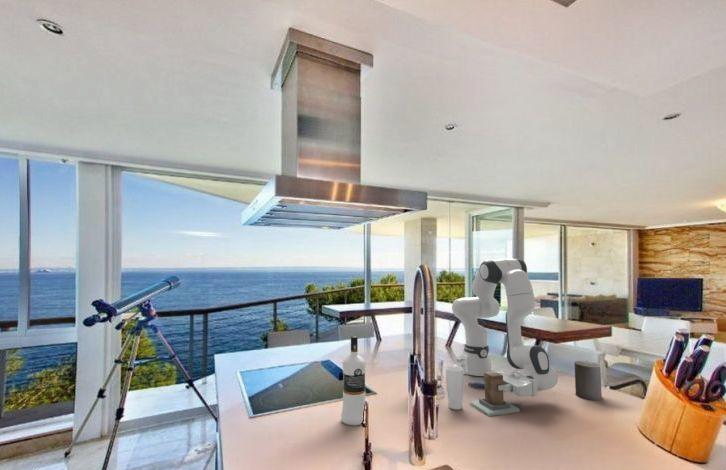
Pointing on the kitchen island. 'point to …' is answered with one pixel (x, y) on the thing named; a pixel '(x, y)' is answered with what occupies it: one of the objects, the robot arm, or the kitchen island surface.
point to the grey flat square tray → (494, 407)
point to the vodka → (353, 386)
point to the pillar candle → (588, 380)
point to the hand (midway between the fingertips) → (491, 384)
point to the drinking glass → (455, 387)
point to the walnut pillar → (493, 388)
